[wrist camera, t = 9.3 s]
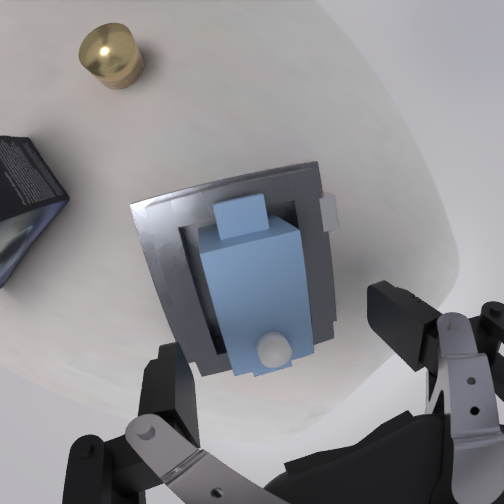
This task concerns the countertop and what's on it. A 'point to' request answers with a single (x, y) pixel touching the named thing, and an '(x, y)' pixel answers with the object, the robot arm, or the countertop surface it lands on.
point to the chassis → (190, 265)
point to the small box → (24, 200)
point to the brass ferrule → (112, 55)
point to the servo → (257, 285)
